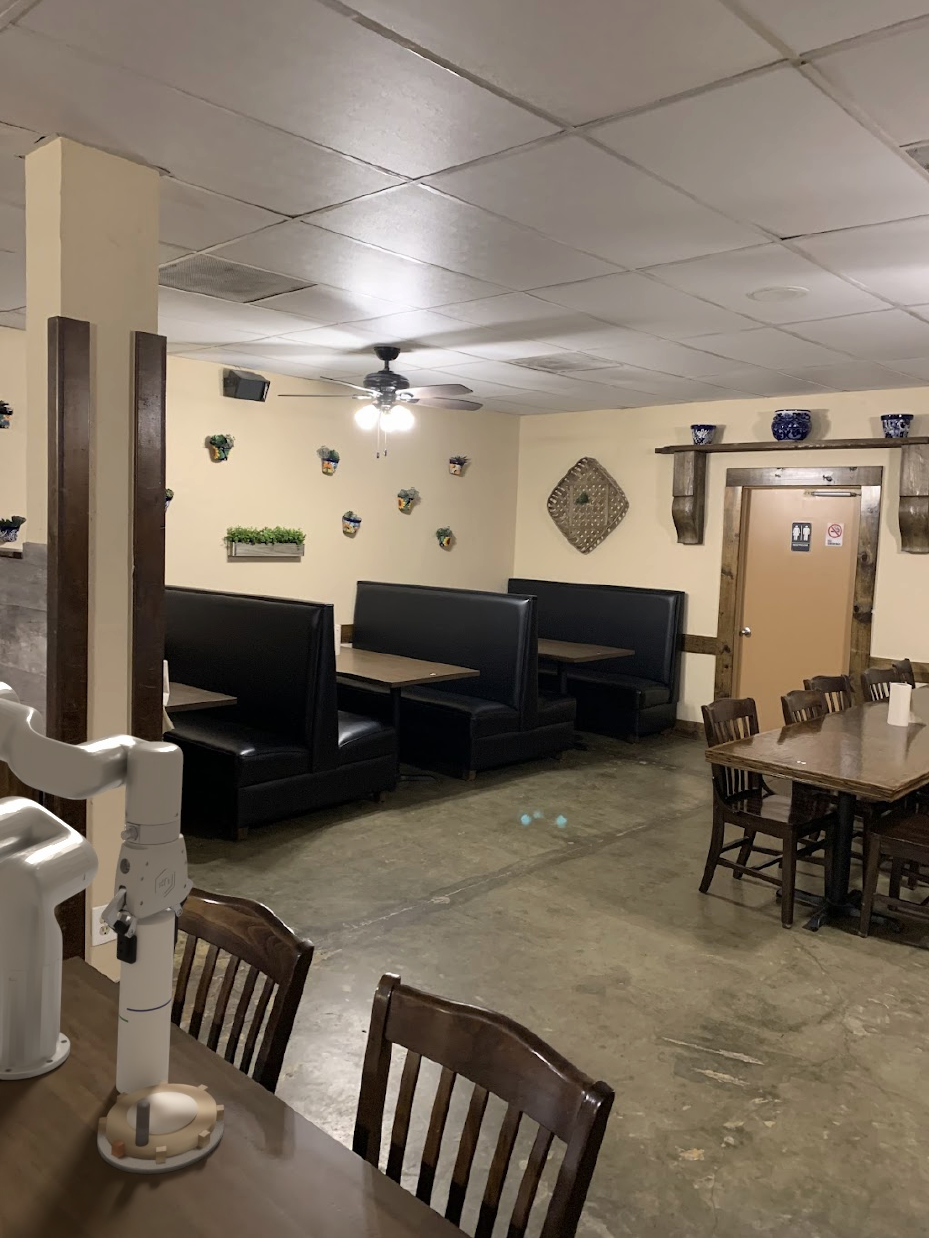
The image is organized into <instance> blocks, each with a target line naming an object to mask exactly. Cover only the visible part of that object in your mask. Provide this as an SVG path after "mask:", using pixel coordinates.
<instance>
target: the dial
mask: <svg viewBox="0 0 929 1238" xmlns="http://www.w3.org/2000/svg"><path fill="white" fill-rule="evenodd" d="M224 1114H225V1105H224V1104H217V1102H216V1100H215V1098H214V1097H213V1096H212V1095H211V1094H210V1093H209V1086H207V1085H204V1084H201V1083H200V1085H198V1086H194V1085H190V1084H183V1083H169V1079H168V1080H163V1081H159V1085H154V1086H149V1087H146V1088H142V1089H140V1090H137V1091H135V1092H132V1093H130V1094H127V1093H125V1092H123V1093H120V1094H118V1095H117V1096H116V1102H115V1104H114V1105H113V1106H112V1107H111V1108H110V1109H109V1111H108V1113H107V1116H102V1117H98V1118H99V1119H98V1127H97V1128H98V1129H97V1130H98V1131H97V1135H98V1134H106V1137H107V1140H108V1142H109V1144H110V1145H111V1146H112V1147H111V1155H113V1156H115V1157H117V1158H119V1157H121V1156H122V1155H123V1154H125V1155H127V1156H131V1157H136V1158H144V1159H156V1163H162V1162H166V1157H170V1156H174V1155H178V1154H181V1153H184V1152H186V1151H189V1150H191V1149H193V1148H195V1147H196V1146H200V1147H202V1148H204V1147H205V1146H207V1145H208V1144H210V1135H211V1133H212V1132H213V1130H214V1128H215V1125H216V1121H223V1119H224V1120H225V1118H224V1117H225V1116H224Z"/></svg>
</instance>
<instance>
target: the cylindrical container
mask: <svg viewBox="0 0 929 1238" xmlns="http://www.w3.org/2000/svg"><path fill="white" fill-rule="evenodd" d="M130 918H131V917H129V916H128V917H127V919H126V922H125V924H126V925H128V923H129V920H130ZM174 927H175V912H174V911H173V910H172V909H170V908H168V909H165V910H163V911H161V912H158V913H156V914H153V915H151V916H148V917H146V918H142V919H139V921H138V924H137V926H136V929H135V931H134V934H133V935H136V936H137V951H136V962H135V963H133V964H129V963H126V962H124V961H121V960H120V968H119V969H120V970H119V971H120V972H119V973H120V977H119V997H118V1000H119V1001H118V1023H117V1025H118V1026H117V1027H118V1028H117V1049H116V1079H115V1081H116V1082H115V1087H116V1091H118V1092H119V1093H120V1094H121V1093H123V1092H125V1093H127V1094H130V1093H132V1092H135V1091H137V1090H140V1089H142V1088H146V1087H149V1086H154V1085H159V1081H163V1080H168V1081H169V1066H170V1065H169V1062H170V1061H169V1060H170V1042H171V1041H170V1040H171V1039H170V1038H171V1021H172V1020H171V1015H172V995H173V994H172V993H173V992H172V991H173V971H174V949H175V948H174V947H175V944H174Z"/></svg>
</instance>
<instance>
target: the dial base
mask: <svg viewBox="0 0 929 1238" xmlns="http://www.w3.org/2000/svg"><path fill="white" fill-rule="evenodd" d="M224 1122H225V1118H224V1119H223V1121H216V1125H215V1128H214V1130H213V1132H212V1133H211V1135H210V1144H208V1145H207V1146H205V1147H204V1148H202V1147H200V1146H196V1147H195V1148H193V1149H191V1150H189V1151H186V1152H184V1153H181V1154H178V1155H174V1156H170V1157H166V1162H162V1163H156V1159H144V1158H136V1157H131V1156H127V1155H125V1154H123V1155H122V1156H121V1157H119V1158H117V1157H115V1156H113V1155H111V1147H112V1146H111V1145H110V1144H109V1142H108V1140H107V1137H106V1134H98V1133H97V1144H96V1145H97V1151H98V1153H99V1155H100V1156H101V1158H102V1159H103V1161H105V1163H107V1164H108V1165H110V1166H112V1167H113V1168H116V1169H118V1170H120V1171H124V1172H128V1173H132V1174H140V1175H141V1174H142V1175H146V1174H147V1175H152V1174H162V1173H163V1174H164V1173H168V1172H173V1171H177V1170H180V1169H183V1168H186V1167H189V1166H190V1165H191V1166H192V1165H193V1164H195V1163H197V1162H199V1161H200V1160H202V1159H204V1158H205V1157H207V1156H208V1155H209V1154H210V1153H211V1152H213V1151H214V1149H216V1148H217V1147H218V1144H219V1143H221V1140H222V1137H223V1135H224V1126H225V1123H224Z"/></svg>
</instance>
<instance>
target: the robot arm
mask: <svg viewBox="0 0 929 1238" xmlns="http://www.w3.org/2000/svg"><path fill="white" fill-rule="evenodd" d="M44 730H45V722H44V719H43V715H42V714H41V713H40V710H39V711H38V709H36V708H34V707H33V706H29V705H25V704H22V703H21V701H20V697H19V696H18V693H17V692H16V691H15V689H13V688H12V687H11V686H10V685H9V684H7V683H5V682H3V681H0V761H2V762H5V763H7V765H8V767H9V769H10V770H11V772H12V773H13V774H14V775H15V776H16V777H17V778H18V780H19V781H21V782H22V783H23V784H25V785H27V786H29V787H31V788H33V789H36V790H39V791H42V792H44V793H47V794H51V795H54V796H56V797H60V798H63V799H69V800H79V801H80V800H87V799H90V798H93V797H96V796H99V795H101V794H104V793H106V792H108V791H111V790H114V789H118V788H122V787H125V807H124V830H122V831H121V832H120V838H121V840H123V842H122V843H121V845H120V848H119V849H120V850H119V854H118V858H117V864H116V870H115V877H114V878H115V879H114V889H113V890H114V891H113V894H114V895H113V898H112V899H111V901H110V902H109V903H108V904H107V906H106V907H105V909H103V911H102V913H101V915H100V917H101V919H102V920H103V921H104V922H105V923H106V924H107V926H108V928H110V929H111V931H112V932H113V933H115V934H117V935H116V955H115V956H116V959H117V960H119V961H120V962H121V961H124V962H126V963H129V964H133V963H135V962H136V951H137V936H136V935H133V934H134V931H135V929H136V926H137V924H138V921H139V919H142V918H146V917H148V916H151V915H153V914H156V913H158V912H161V911H163V910H165V909H168V908H170V909H172V910H173V911H174V912H175V927H174V945H176V944H178V939H179V917H180V916H181V915H182V914H183V907H184V905H185V904H186V902H187V901H188V896H189V894H190V892H191V890H192V889H193V887H194V881H193V880H192V879H190V878H189V877H188V856H187V848H186V842H185V839H184V835H183V834H182V833H181V810H182V795H183V794H182V793H183V790H182V788H183V769H184V767H183V765H184V754H183V751H182V749H181V747H179V745H177V744H175V743H173V742H167V741H148V740H145V739H142V738H140V737H136V736H133V735H131V734H125V733H114V734H109V735H106V736H102V737H97V738H94V739H91V740H88V741H85V742H81V743H79V744H70V743H67V742H63V741H59V740H58V739H57V740H56V739H53V738H49V737H47V736H44ZM98 871H99V858H98V854H97V852H96V850H95V848H94V846H93V845H92V844H91V842H89V840H88V839H87V838H86V837H85V836H84V835H82V834H81V833H80V832H78V831H77V830H75V829H74V828H73V827H72V826H70V825H69V824H67V823H66V822H65V821H64V820H62V819H60V818H59V817H58V816H57V815H55V814H54V813H52V812H51V811H50V810H49V809H47V808H46V807H45V806H43V805H41V804H39V802H37V801H35V800H32V799H30V798H28V797H24V796H14V795H12V796H6V797H1V798H0V1080H5V1081H6V1080H7V1081H9V1080H10V1081H11V1080H12V1081H13V1080H23V1079H29V1078H33V1077H36V1076H37V1077H38V1076H41V1075H43V1074H45V1073H49V1072H50V1071H53V1070H54V1069H55V1068H58V1067H59V1066H60V1065H62V1064H63V1063H64V1062H65V1061H66V1059H67V1058H68V1057H69V1055H70V1053H71V1041H70V1039H69V1038H68V1037H67V1036H66V1035H65V1034H64V1033H62V1032H61V1008H62V1007H61V1003H62V1002H61V1001H62V999H61V998H62V977H63V976H62V973H63V933H62V930H61V927H60V925H59V923H58V921H57V919H56V915H55V908H56V906H58V905H60V904H61V903H63V902H65V901H66V900H69V898H71V897H73V896H75V895H77V894H78V893H80V892H82V891H84V890H85V889H86V888H88V887H89V886H90V885H91V884H92V882H94V880H95V879H96V876H97V874H98ZM128 916H129V917H131V918H130V920H129V923H128V925H126V924H125V922H126V919H127V917H128Z"/></svg>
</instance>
